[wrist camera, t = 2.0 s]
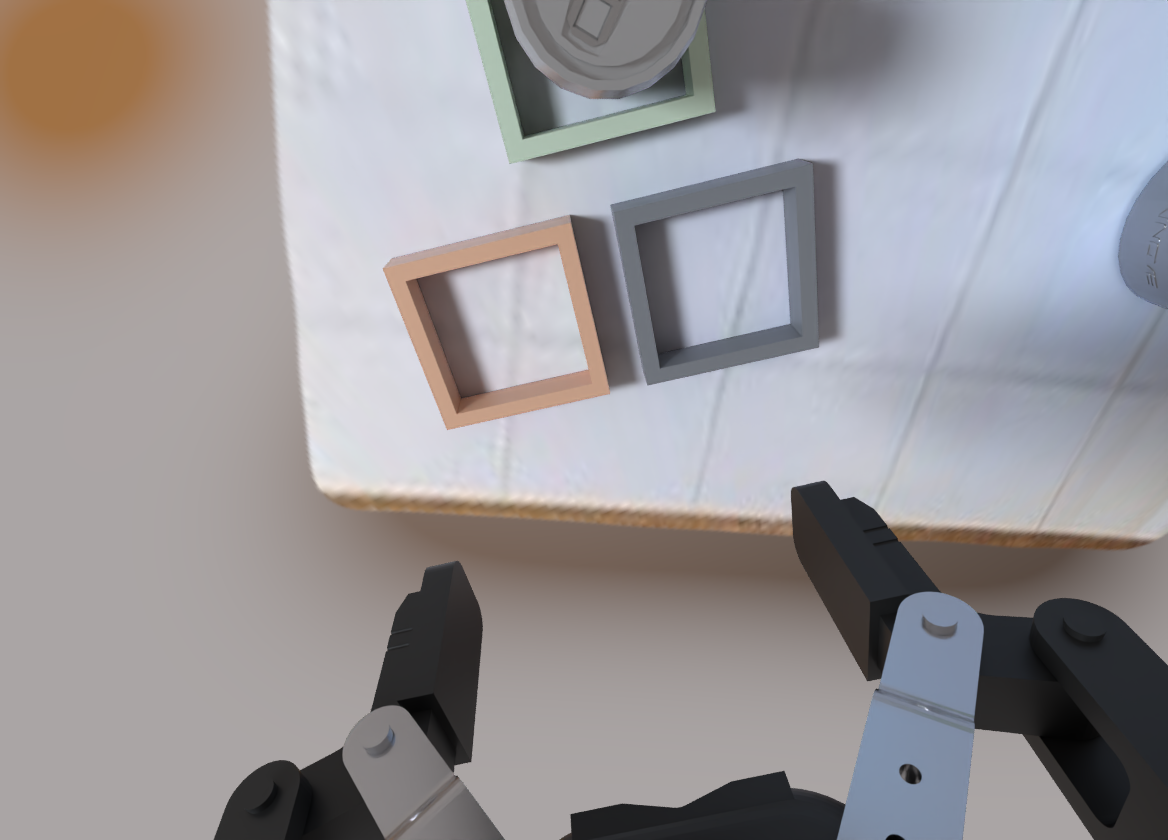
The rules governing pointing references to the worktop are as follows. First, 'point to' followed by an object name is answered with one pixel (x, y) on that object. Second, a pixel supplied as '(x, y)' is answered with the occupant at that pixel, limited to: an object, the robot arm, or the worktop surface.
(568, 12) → the beer can
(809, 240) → the charcoal frame
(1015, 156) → the worktop surface
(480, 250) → the terracotta frame
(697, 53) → the sage frame
